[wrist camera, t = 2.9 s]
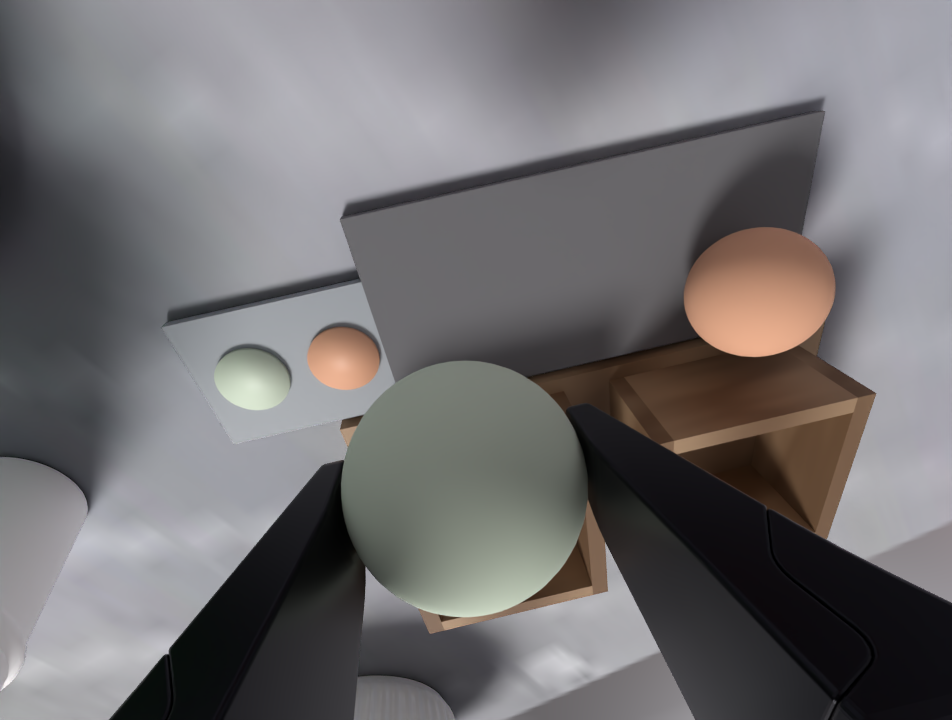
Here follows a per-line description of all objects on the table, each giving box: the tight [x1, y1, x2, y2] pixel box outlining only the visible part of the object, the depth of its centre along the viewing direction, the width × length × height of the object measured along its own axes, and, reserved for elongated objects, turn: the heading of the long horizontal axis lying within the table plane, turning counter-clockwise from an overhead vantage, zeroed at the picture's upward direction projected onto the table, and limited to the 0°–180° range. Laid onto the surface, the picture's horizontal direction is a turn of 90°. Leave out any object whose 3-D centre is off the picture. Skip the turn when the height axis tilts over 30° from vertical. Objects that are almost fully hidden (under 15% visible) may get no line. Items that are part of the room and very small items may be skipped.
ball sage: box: [341, 361, 588, 617], centre depth 7 cm, size 4×4×4 cm
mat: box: [340, 111, 825, 383], centre depth 15 cm, size 15×7×1 cm, turn 101°
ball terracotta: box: [684, 227, 835, 357], centre depth 14 cm, size 4×4×4 cm
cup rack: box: [340, 321, 876, 634], centre depth 18 cm, size 19×8×4 cm, turn 101°
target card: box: [161, 279, 400, 445], centre depth 16 cm, size 7×5×1 cm
